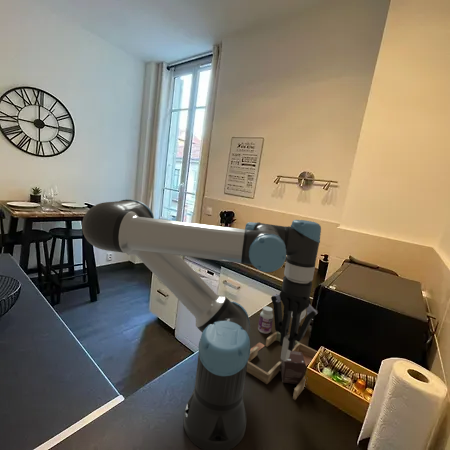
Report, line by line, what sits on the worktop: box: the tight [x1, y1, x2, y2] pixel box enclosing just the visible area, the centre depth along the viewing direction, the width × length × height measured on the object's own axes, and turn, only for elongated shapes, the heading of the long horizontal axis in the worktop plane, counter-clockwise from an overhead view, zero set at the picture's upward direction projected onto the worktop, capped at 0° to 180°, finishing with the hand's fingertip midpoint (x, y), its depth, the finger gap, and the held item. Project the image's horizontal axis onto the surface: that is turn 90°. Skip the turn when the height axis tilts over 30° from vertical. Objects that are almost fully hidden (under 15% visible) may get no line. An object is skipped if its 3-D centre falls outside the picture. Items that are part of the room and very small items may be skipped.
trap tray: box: [246, 330, 318, 401], centre depth 89 cm, size 24×22×3 cm
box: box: [280, 351, 307, 386], centre depth 82 cm, size 6×6×7 cm
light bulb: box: [290, 308, 307, 327], centre depth 115 cm, size 7×7×11 cm
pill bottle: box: [257, 305, 274, 334], centre depth 107 cm, size 5×5×10 cm
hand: (284, 357), depth 74 cm, fingers closed
